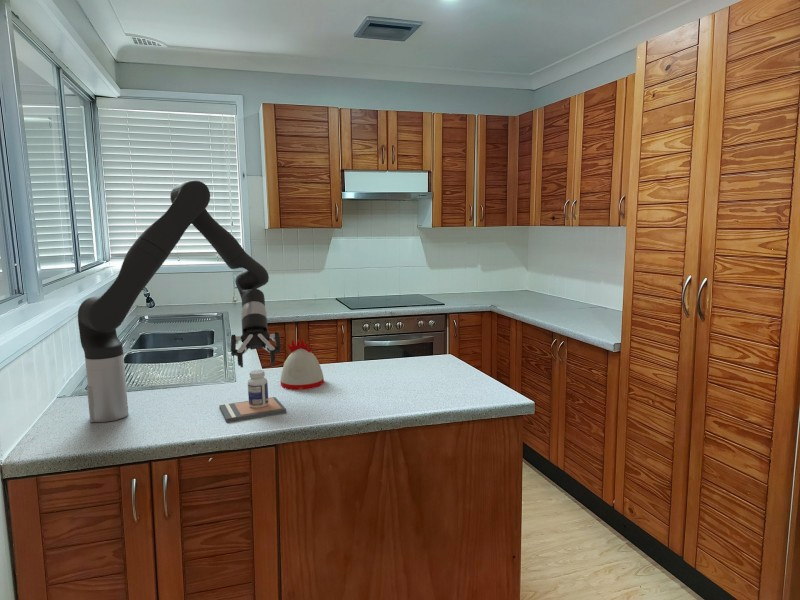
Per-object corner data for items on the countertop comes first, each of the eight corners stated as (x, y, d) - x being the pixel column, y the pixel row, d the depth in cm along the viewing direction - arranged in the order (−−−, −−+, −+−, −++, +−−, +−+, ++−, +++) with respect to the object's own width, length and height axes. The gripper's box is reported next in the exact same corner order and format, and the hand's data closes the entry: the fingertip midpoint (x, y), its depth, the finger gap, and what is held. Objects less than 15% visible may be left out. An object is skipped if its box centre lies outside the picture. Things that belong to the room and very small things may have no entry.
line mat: (226, 422, 147) (226, 418, 147) (219, 408, 159) (219, 404, 158) (286, 412, 154) (286, 408, 154) (275, 400, 165) (275, 396, 165)
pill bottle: (260, 401, 161) (259, 368, 160) (272, 404, 157) (270, 371, 156) (244, 406, 157) (243, 372, 155) (256, 409, 153) (254, 375, 152)
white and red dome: (286, 378, 190) (284, 335, 188) (326, 378, 189) (325, 334, 187) (276, 390, 176) (273, 343, 174) (319, 389, 176) (317, 343, 174)
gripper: (229, 313, 166) (230, 360, 157) (278, 311, 170) (282, 356, 160) (230, 328, 172) (232, 373, 162) (278, 325, 176) (281, 369, 166)
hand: (257, 364), depth 161 cm, fingers open, 8 cm apart
